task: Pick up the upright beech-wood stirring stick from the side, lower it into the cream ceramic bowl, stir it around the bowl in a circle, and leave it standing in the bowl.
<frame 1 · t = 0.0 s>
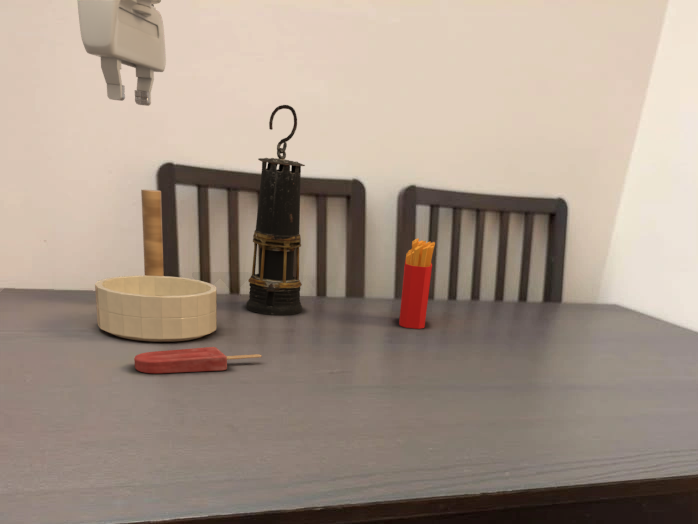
hand: (130, 102, 99), 28 cm above the table, tool pointing down, fingers open, 8 cm apart
french fries: (411, 325, 117), on the table
popsicle: (200, 368, 86), on the table
lantern: (273, 310, 119), on the table
bowl: (158, 329, 100), on the table
stirring stick: (155, 307, 113), on the table
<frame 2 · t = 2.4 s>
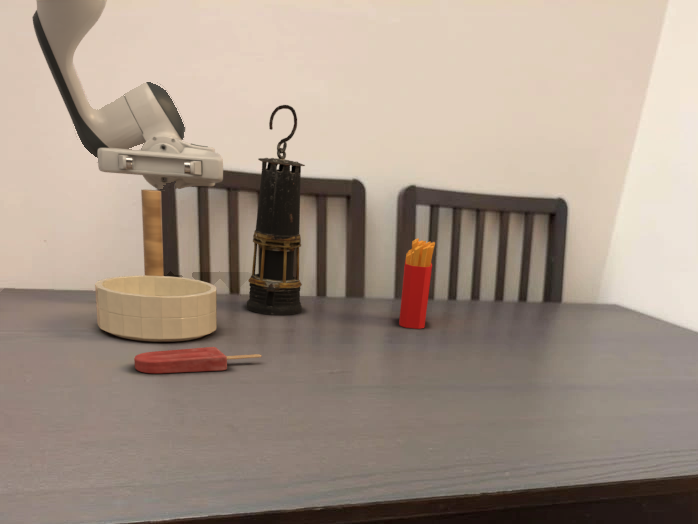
hand: (158, 165, 116), 20 cm above the table, tool horizontal, fingers open, 8 cm apart
nothing on the table moved.
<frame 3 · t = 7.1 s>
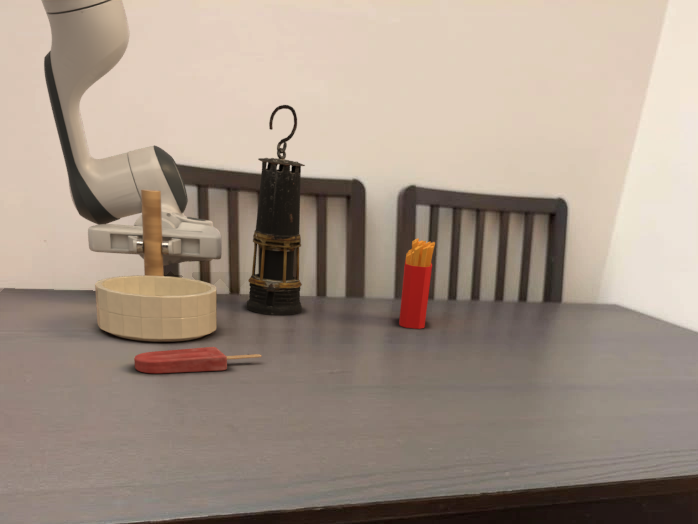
hand: (152, 248, 109), 9 cm above the table, tool horizontal, fingers closed on stirring stick, 3 cm apart
stirring stick: (155, 307, 113), on the table, touching gripper
everything else where it was.
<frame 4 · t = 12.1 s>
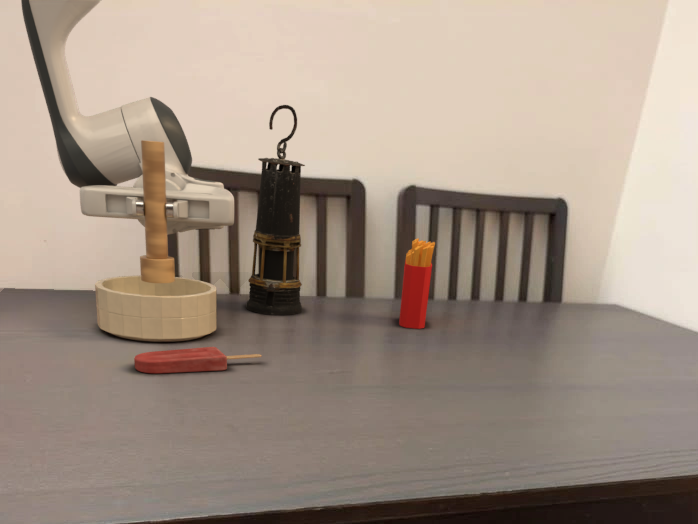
hand: (155, 209, 93), 16 cm above the table, tool horizontal, fingers closed on stirring stick, 3 cm apart
stirring stick: (158, 280, 98), point 7 cm above the table, touching gripper
everything else where it was.
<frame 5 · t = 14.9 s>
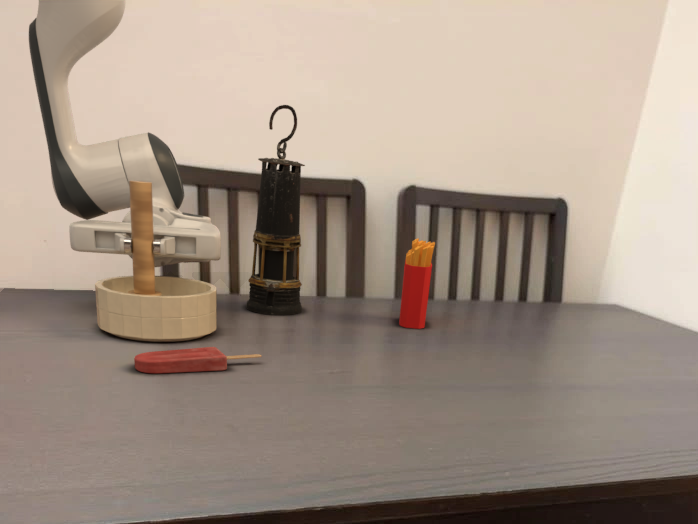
hand: (142, 247, 96), 11 cm above the table, tool horizontal, fingers closed on stirring stick, 3 cm apart
stirring stick: (145, 314, 100), point 2 cm above the table, touching gripper
everything else where it was.
when the fingers open (10 cm above the table, at t = 17.2 s): stirring stick stays where it is, resting on bowl.
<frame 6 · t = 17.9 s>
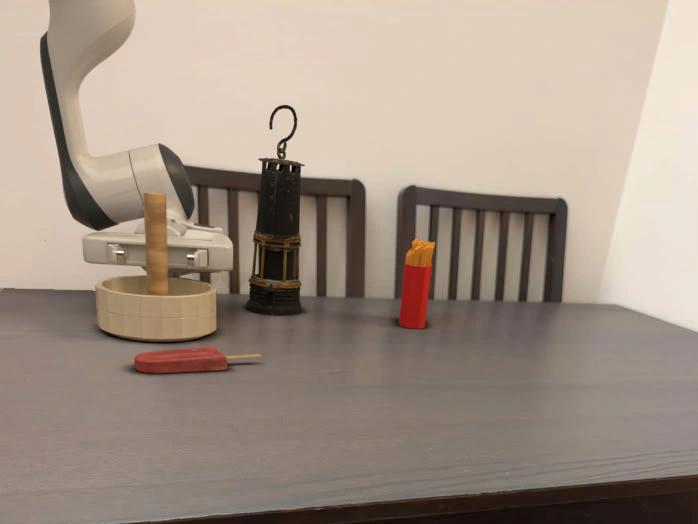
hand: (155, 259, 96), 10 cm above the table, tool horizontal, fingers open, 8 cm apart
stirring stick: (159, 325, 100), point 1 cm above the table, touching bowl
everything else where it was.
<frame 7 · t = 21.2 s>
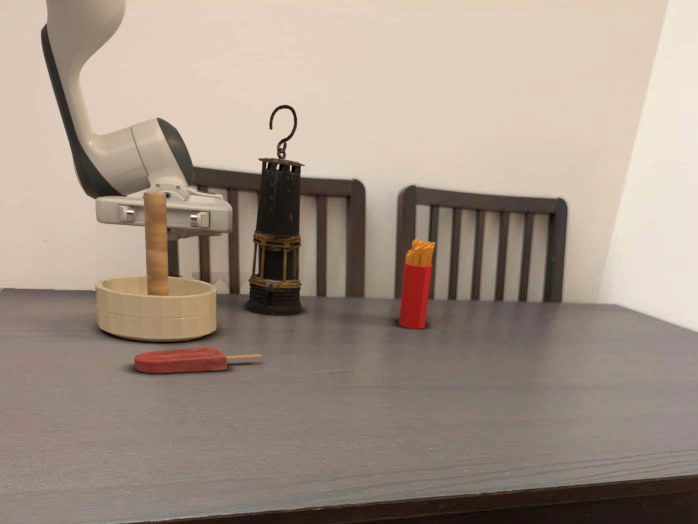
hand: (162, 218, 105), 13 cm above the table, tool horizontal, fingers open, 8 cm apart
nothing on the table moved.
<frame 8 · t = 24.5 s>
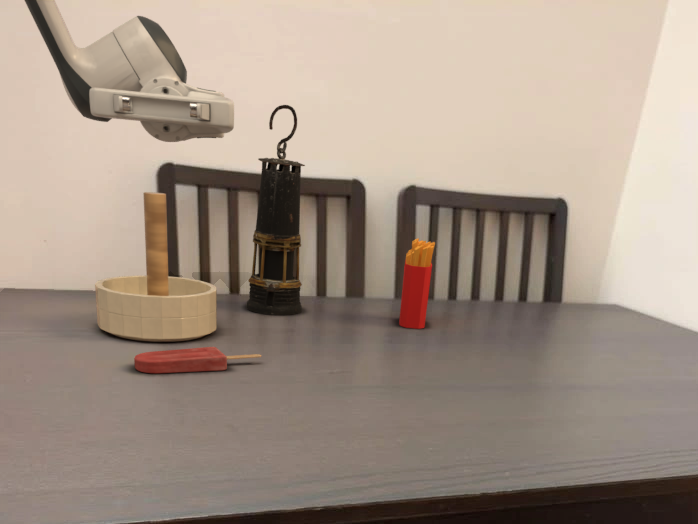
hand: (159, 106, 100), 28 cm above the table, tool horizontal, fingers open, 8 cm apart
nothing on the table moved.
at the end: stirring stick inside the target area in the bowl (0.1 cm from its centre), point 0.6 cm above the bowl's base; stirring stick tilted 0°; stirring stick moved 14.7 cm from its start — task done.
